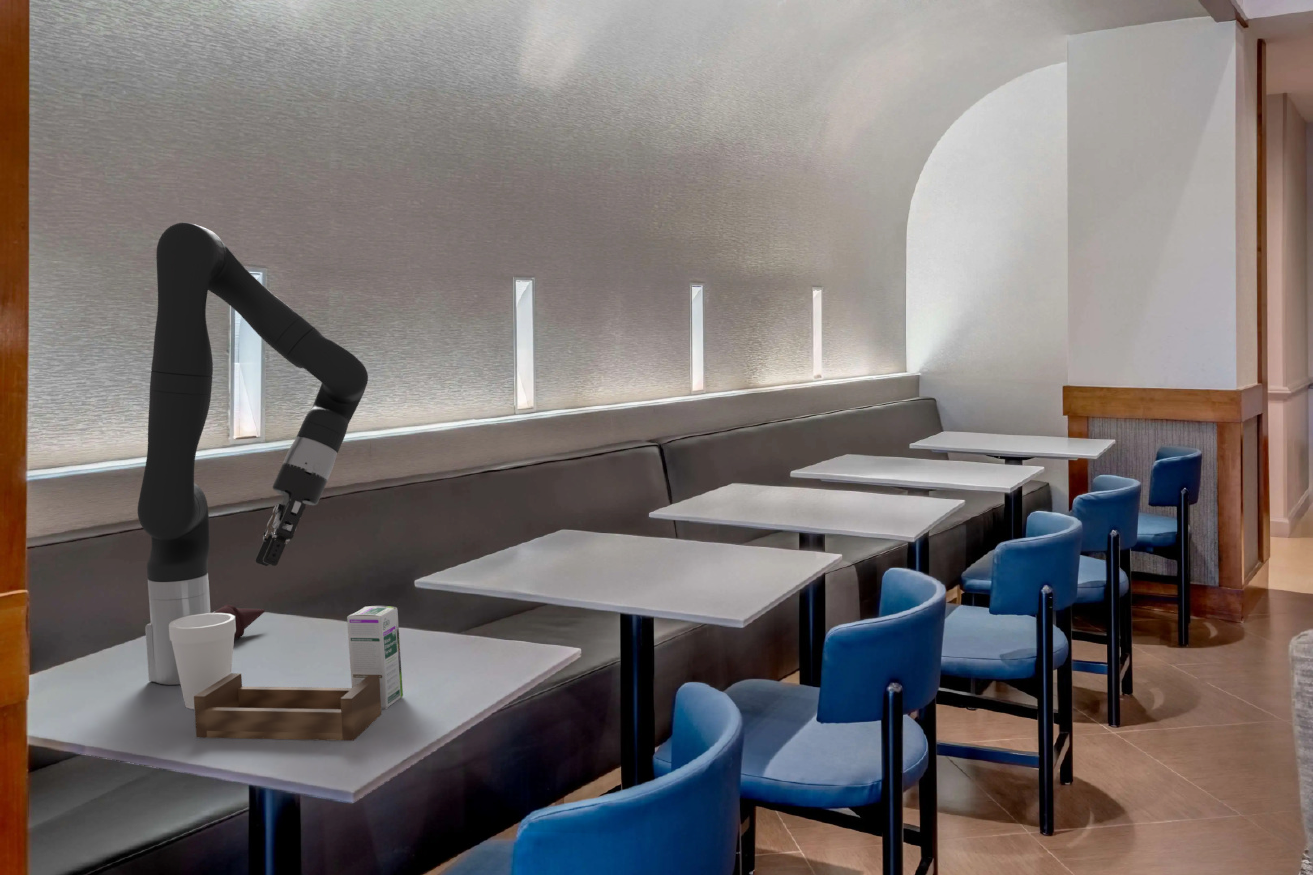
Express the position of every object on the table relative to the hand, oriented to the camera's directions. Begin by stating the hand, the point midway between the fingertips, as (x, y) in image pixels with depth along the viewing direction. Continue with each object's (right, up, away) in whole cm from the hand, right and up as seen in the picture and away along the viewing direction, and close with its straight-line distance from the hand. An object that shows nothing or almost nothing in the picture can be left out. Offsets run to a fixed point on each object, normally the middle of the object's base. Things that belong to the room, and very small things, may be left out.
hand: (264, 564), depth 169 cm
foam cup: (-8, -21, -3) cm, 23 cm away
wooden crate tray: (+9, -22, -14) cm, 28 cm away
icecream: (-19, -18, +33) cm, 42 cm away
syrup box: (+19, -21, -5) cm, 29 cm away
